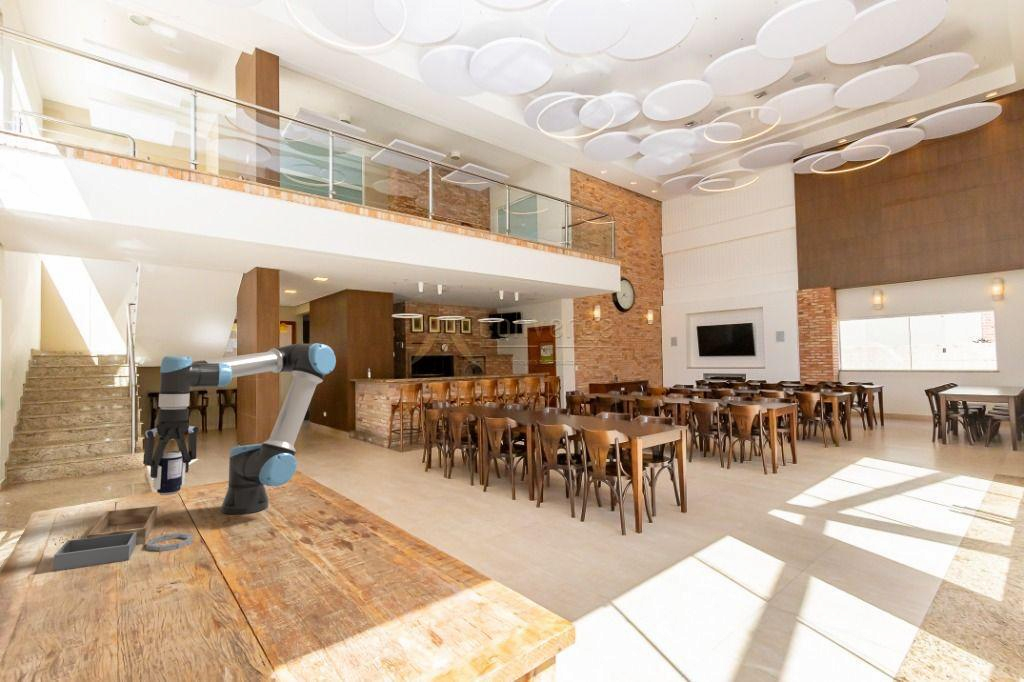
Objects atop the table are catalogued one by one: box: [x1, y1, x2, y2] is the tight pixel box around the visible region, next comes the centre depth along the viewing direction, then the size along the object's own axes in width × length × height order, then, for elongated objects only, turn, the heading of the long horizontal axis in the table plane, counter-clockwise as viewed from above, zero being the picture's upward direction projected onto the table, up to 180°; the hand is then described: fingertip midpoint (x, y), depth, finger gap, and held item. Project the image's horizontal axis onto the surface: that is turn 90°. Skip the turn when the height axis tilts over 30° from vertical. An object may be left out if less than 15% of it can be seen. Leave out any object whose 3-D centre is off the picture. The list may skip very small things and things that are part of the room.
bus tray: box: [53, 532, 137, 572], centre depth 131 cm, size 15×11×4 cm
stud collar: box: [145, 531, 194, 552], centre depth 142 cm, size 11×11×1 cm
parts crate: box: [86, 505, 158, 546], centre depth 148 cm, size 13×24×4 cm, turn 30°
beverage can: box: [156, 450, 182, 496], centre depth 142 cm, size 6×6×12 cm
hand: (169, 486), depth 142 cm, fingers closed on beverage can, 6 cm apart
